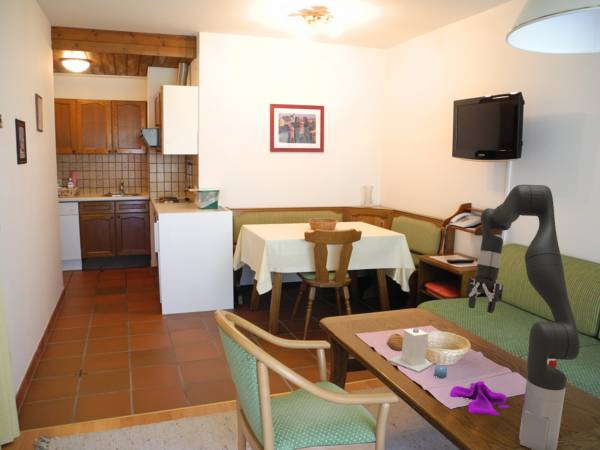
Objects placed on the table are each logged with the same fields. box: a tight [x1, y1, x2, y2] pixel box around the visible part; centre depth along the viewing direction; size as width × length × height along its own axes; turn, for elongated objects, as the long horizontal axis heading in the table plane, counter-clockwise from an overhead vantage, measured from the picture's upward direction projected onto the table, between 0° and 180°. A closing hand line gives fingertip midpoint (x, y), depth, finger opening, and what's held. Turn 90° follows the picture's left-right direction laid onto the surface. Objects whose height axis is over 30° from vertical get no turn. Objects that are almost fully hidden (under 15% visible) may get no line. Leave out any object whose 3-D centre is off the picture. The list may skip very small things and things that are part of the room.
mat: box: [388, 353, 433, 373], centre depth 185 cm, size 12×12×1 cm
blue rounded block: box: [433, 364, 448, 379], centre depth 175 cm, size 4×4×3 cm
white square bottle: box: [401, 327, 429, 366], centre depth 184 cm, size 6×6×12 cm
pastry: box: [387, 333, 403, 351], centre depth 199 cm, size 9×7×4 cm
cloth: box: [449, 380, 510, 416], centre depth 160 cm, size 22×19×6 cm
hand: (480, 310), depth 182 cm, fingers open, 8 cm apart
